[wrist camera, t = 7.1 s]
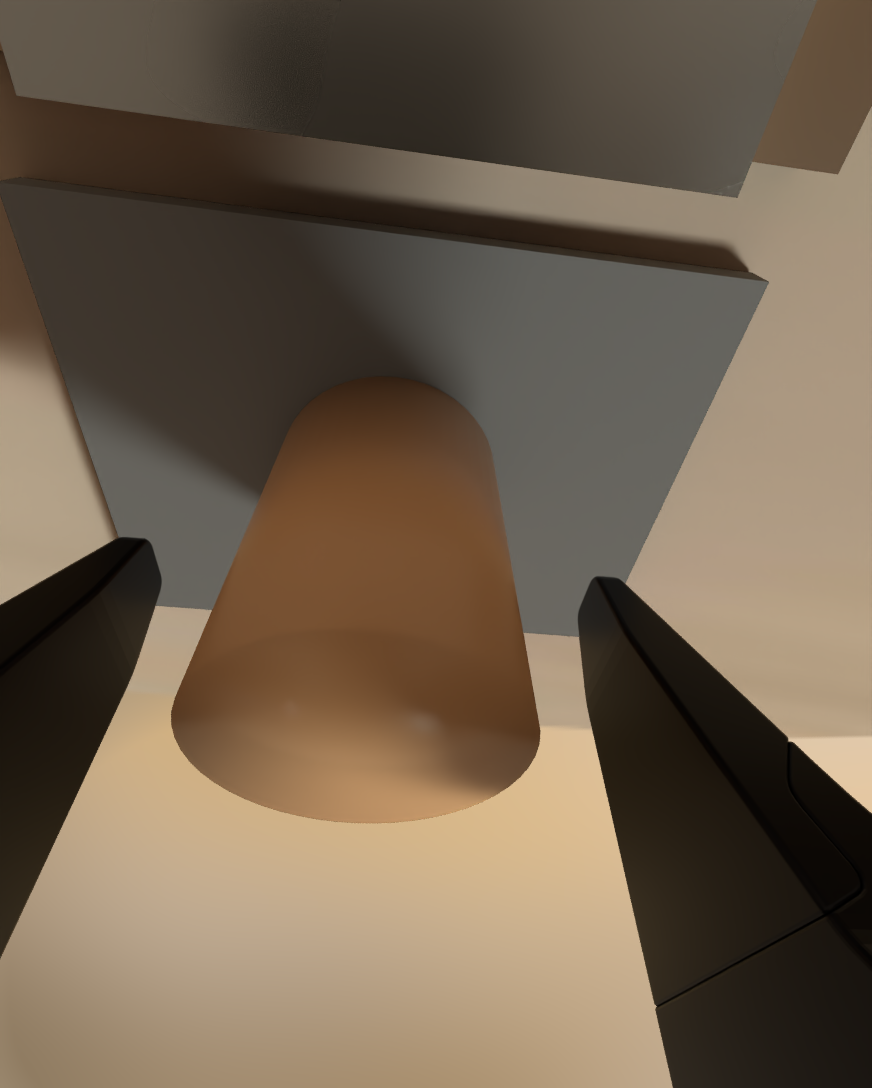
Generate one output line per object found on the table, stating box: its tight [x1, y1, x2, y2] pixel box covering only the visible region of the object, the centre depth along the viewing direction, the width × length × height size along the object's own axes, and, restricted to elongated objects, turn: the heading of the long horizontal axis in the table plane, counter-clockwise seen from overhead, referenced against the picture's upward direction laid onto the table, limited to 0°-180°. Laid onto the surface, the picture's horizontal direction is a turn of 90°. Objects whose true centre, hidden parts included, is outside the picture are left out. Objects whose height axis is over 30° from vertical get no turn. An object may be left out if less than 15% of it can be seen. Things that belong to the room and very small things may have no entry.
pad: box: [0, 177, 769, 637], centre depth 11 cm, size 12×9×1 cm
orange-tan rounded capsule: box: [171, 376, 540, 823], centre depth 9 cm, size 4×4×6 cm
